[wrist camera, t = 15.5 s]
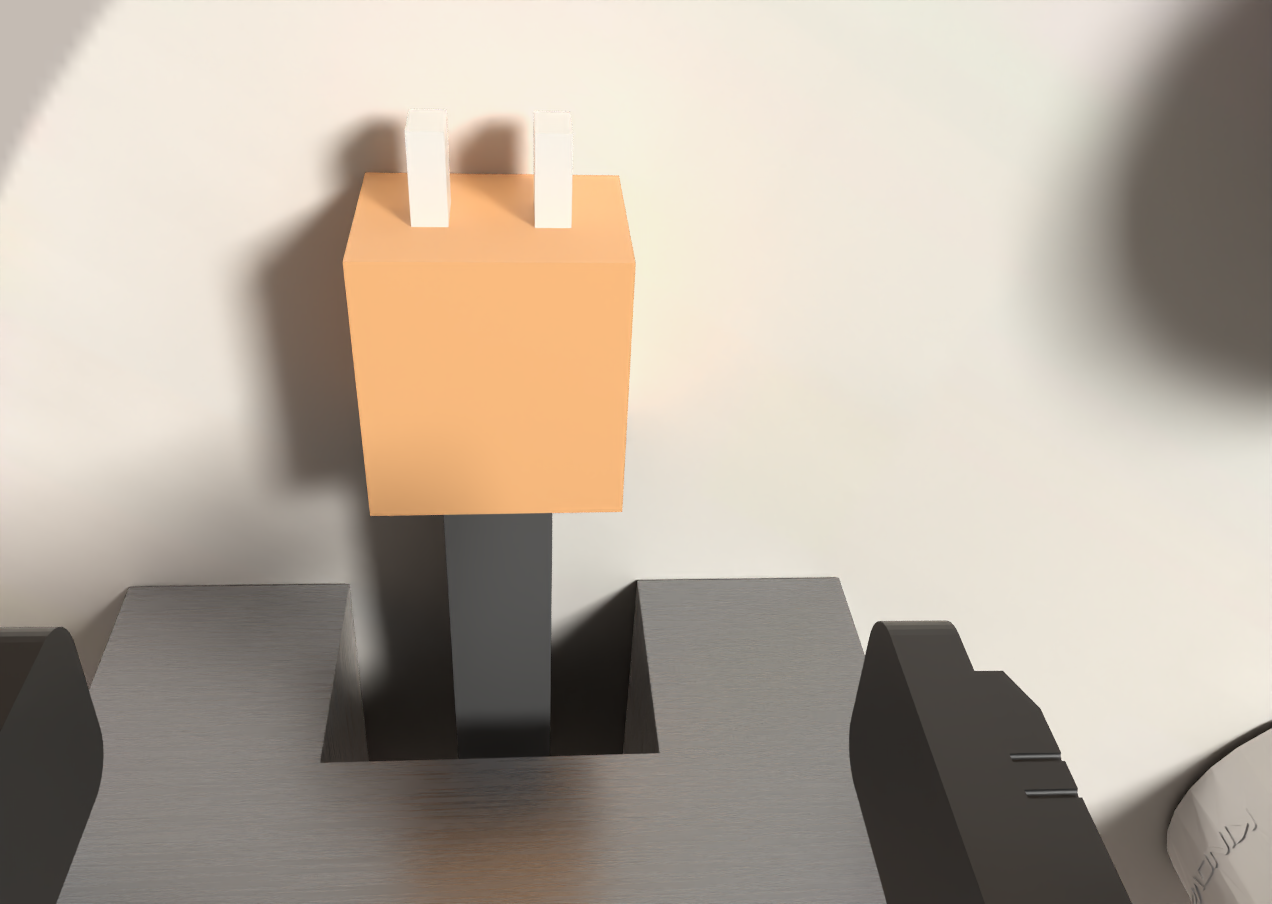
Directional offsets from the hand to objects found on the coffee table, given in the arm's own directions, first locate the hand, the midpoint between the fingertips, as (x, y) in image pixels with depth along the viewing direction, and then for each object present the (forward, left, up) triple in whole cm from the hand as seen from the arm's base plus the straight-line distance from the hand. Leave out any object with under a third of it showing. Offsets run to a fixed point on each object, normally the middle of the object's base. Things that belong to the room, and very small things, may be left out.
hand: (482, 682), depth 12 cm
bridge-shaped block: (0, +13, -12) cm, 17 cm away
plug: (0, +10, -12) cm, 15 cm away
